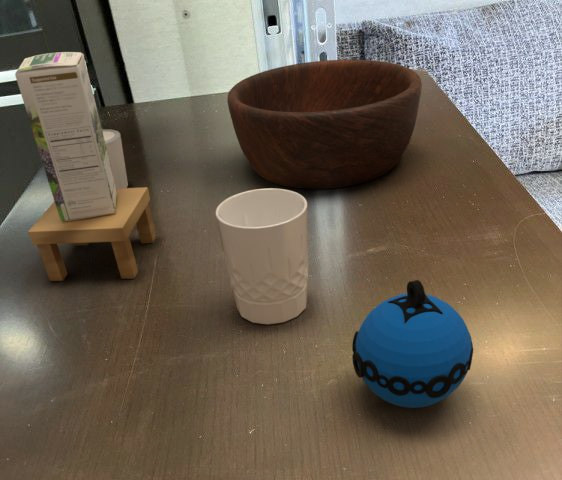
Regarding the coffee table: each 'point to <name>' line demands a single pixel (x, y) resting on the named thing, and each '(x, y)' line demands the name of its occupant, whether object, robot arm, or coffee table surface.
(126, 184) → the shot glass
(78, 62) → the syrup box
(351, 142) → the wooden bowl
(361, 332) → the ornament
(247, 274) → the white cup
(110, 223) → the stand
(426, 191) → the coffee table surface
